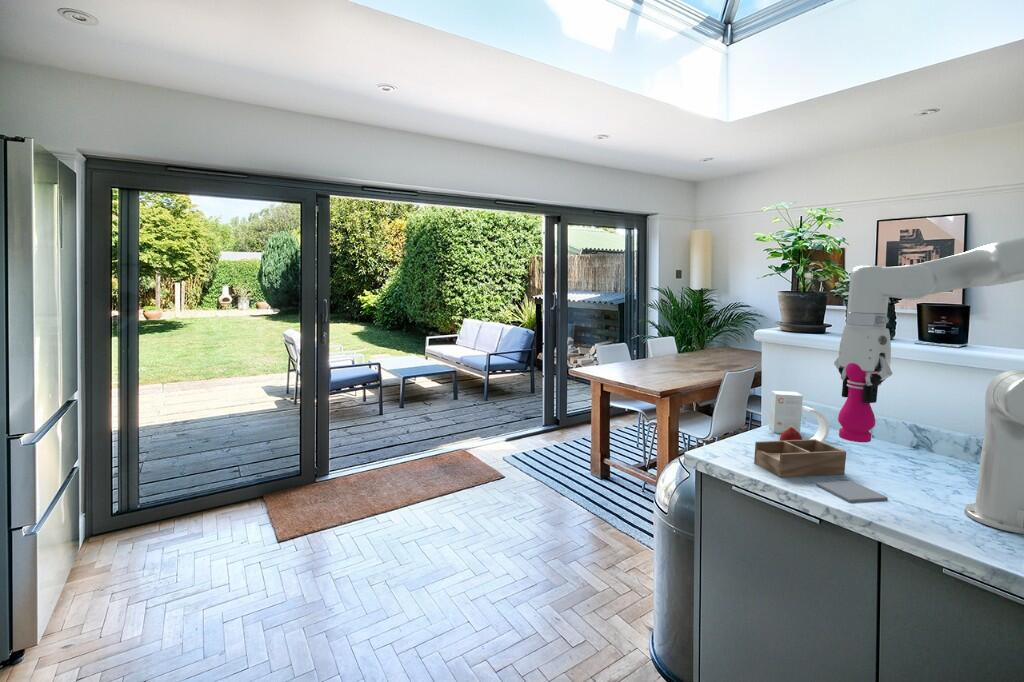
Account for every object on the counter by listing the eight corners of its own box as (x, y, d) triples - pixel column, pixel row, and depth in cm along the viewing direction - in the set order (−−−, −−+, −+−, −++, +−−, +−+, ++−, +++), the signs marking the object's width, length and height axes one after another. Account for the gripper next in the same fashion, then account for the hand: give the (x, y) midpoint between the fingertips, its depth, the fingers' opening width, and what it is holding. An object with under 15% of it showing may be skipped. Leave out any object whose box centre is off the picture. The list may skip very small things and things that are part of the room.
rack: (844, 474, 134) (846, 451, 133) (780, 477, 131) (782, 454, 130) (813, 460, 144) (815, 439, 144) (754, 463, 141) (755, 441, 140)
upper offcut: (799, 469, 133) (800, 462, 133) (779, 468, 133) (779, 461, 133) (784, 459, 140) (785, 453, 140) (765, 459, 140) (766, 453, 140)
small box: (794, 429, 175) (797, 391, 174) (800, 434, 169) (803, 395, 168) (768, 427, 177) (770, 390, 175) (773, 433, 171) (776, 394, 169)
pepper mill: (879, 444, 116) (888, 356, 114) (843, 442, 118) (852, 354, 116) (864, 435, 123) (872, 352, 121) (831, 433, 125) (838, 350, 123)
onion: (803, 452, 151) (806, 425, 150) (798, 457, 146) (800, 429, 145) (782, 448, 155) (784, 422, 154) (776, 452, 150) (778, 425, 149)
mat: (887, 499, 118) (887, 497, 118) (849, 502, 116) (849, 499, 116) (851, 483, 128) (851, 480, 128) (815, 485, 126) (815, 482, 126)
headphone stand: (799, 444, 159) (802, 405, 158) (819, 445, 158) (823, 406, 157) (806, 449, 154) (809, 409, 153) (827, 449, 154) (831, 410, 152)
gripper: (915, 324, 110) (906, 408, 112) (849, 318, 127) (843, 391, 129) (884, 323, 109) (876, 409, 111) (822, 318, 125) (816, 392, 127)
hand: (858, 398), depth 120 cm, fingers closed on pepper mill, 5 cm apart
